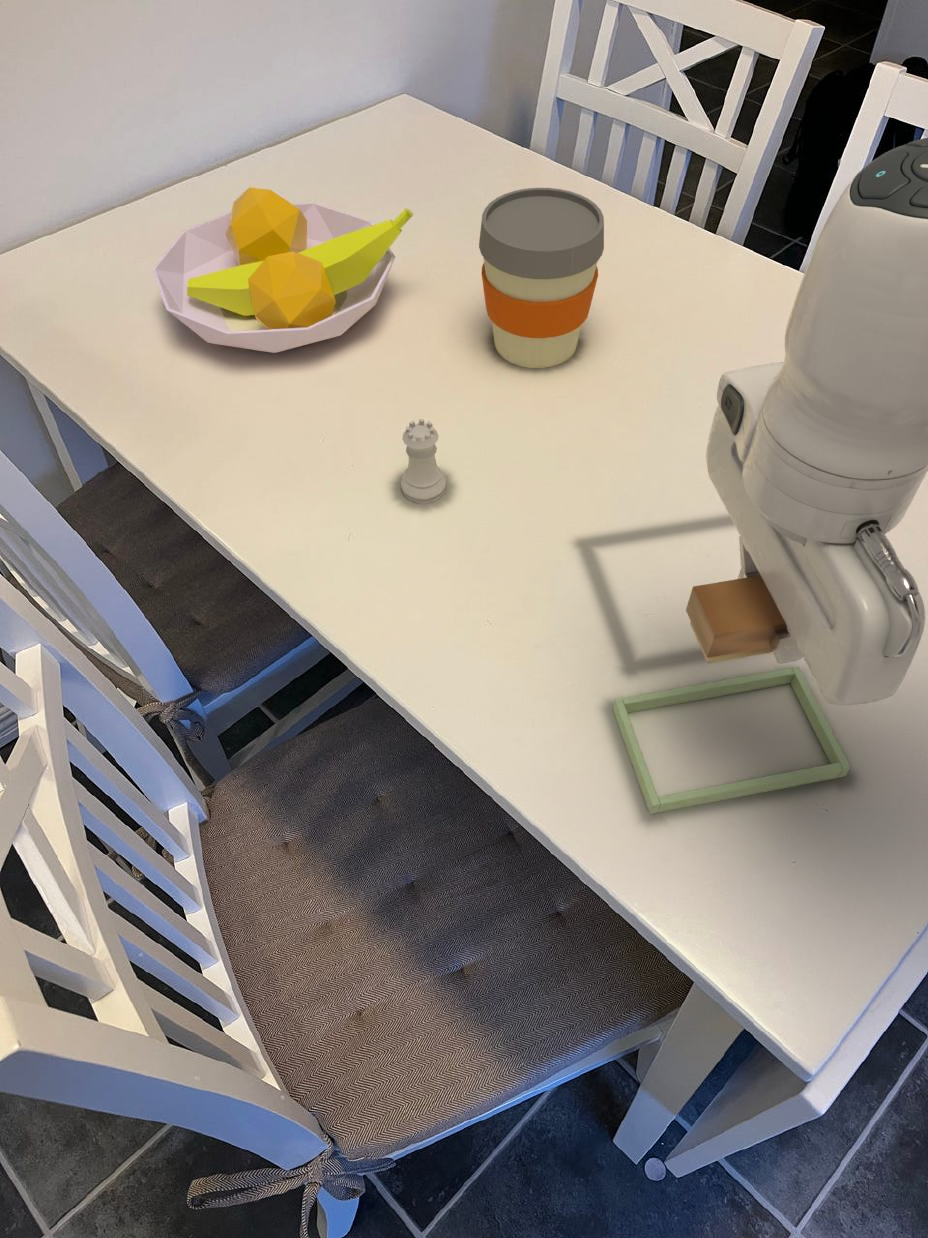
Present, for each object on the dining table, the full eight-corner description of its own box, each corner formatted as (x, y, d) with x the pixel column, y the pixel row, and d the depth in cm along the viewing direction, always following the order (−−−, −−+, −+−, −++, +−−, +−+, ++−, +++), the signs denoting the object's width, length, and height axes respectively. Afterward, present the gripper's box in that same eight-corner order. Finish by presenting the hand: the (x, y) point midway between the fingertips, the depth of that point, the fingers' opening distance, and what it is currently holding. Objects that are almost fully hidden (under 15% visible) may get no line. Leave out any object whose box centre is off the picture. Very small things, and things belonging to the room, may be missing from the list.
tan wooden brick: (820, 597, 62) (838, 561, 59) (847, 643, 60) (866, 609, 57) (682, 621, 61) (692, 586, 58) (703, 669, 59) (715, 635, 56)
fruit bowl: (129, 363, 100) (95, 269, 91) (226, 235, 116) (205, 145, 107) (372, 400, 96) (361, 305, 87) (437, 261, 112) (433, 169, 103)
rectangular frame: (792, 680, 74) (798, 666, 72) (842, 780, 68) (851, 767, 66) (611, 712, 72) (614, 699, 70) (648, 818, 66) (652, 805, 65)
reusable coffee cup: (513, 302, 106) (517, 175, 94) (610, 334, 102) (628, 205, 90) (458, 360, 100) (455, 230, 88) (559, 396, 96) (571, 266, 84)
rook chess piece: (452, 481, 88) (450, 416, 82) (439, 513, 86) (436, 449, 79) (409, 473, 89) (403, 408, 83) (394, 504, 86) (388, 440, 80)
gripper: (992, 602, 43) (887, 748, 54) (808, 343, 55) (753, 505, 66) (867, 623, 42) (786, 767, 53) (709, 357, 54) (670, 518, 65)
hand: (767, 620), depth 59 cm, fingers closed on tan wooden brick, 4 cm apart
